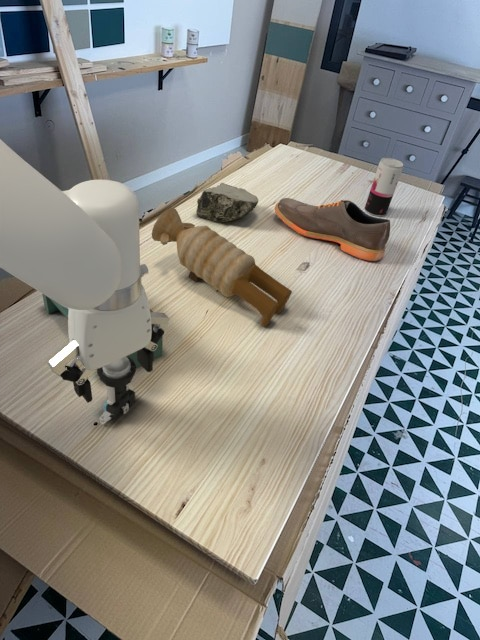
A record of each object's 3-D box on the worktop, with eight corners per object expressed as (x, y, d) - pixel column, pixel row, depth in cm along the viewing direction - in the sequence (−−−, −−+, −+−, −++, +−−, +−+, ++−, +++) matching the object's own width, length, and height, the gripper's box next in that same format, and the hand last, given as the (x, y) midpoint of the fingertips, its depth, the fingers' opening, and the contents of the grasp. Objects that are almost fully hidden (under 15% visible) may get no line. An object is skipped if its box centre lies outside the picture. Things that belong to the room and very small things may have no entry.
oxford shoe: (283, 208, 131) (291, 169, 124) (389, 249, 121) (404, 209, 114) (265, 222, 124) (272, 182, 116) (376, 267, 114) (391, 225, 106)
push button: (114, 434, 68) (111, 388, 62) (87, 417, 70) (81, 371, 63) (143, 405, 73) (143, 360, 66) (117, 389, 74) (114, 344, 68)
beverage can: (362, 212, 136) (378, 162, 127) (366, 204, 141) (382, 155, 131) (384, 219, 135) (402, 169, 125) (387, 210, 140) (405, 161, 130)
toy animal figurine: (279, 319, 99) (173, 243, 106) (301, 277, 91) (184, 198, 97) (255, 343, 92) (143, 260, 99) (276, 301, 84) (152, 213, 91)
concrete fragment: (209, 187, 130) (256, 168, 123) (221, 223, 132) (268, 207, 125) (183, 193, 117) (234, 172, 110) (197, 233, 120) (248, 215, 112)
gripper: (152, 250, 63) (152, 341, 74) (23, 292, 53) (45, 390, 64) (185, 278, 59) (180, 370, 70) (53, 329, 49) (71, 427, 60)
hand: (116, 380), depth 67 cm, fingers open, 9 cm apart
